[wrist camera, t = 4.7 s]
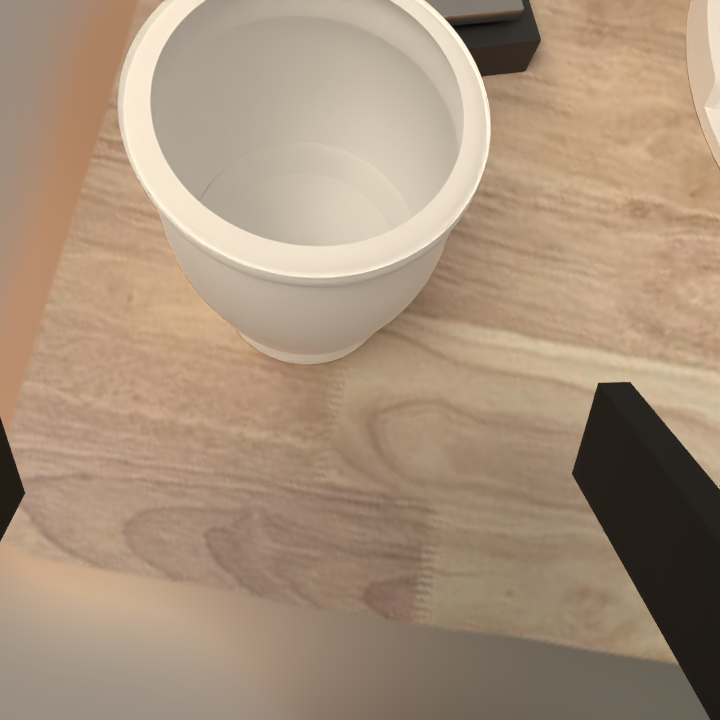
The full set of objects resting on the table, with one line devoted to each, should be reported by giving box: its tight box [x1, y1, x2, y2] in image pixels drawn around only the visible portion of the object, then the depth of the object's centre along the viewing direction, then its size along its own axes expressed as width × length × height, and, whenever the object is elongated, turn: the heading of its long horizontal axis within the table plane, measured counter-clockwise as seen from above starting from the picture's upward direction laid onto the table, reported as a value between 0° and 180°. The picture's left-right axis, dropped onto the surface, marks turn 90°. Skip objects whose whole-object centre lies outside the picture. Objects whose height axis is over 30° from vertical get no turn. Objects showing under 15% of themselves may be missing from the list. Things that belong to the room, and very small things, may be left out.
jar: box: [118, 0, 491, 365], centre depth 25 cm, size 11×10×15 cm
